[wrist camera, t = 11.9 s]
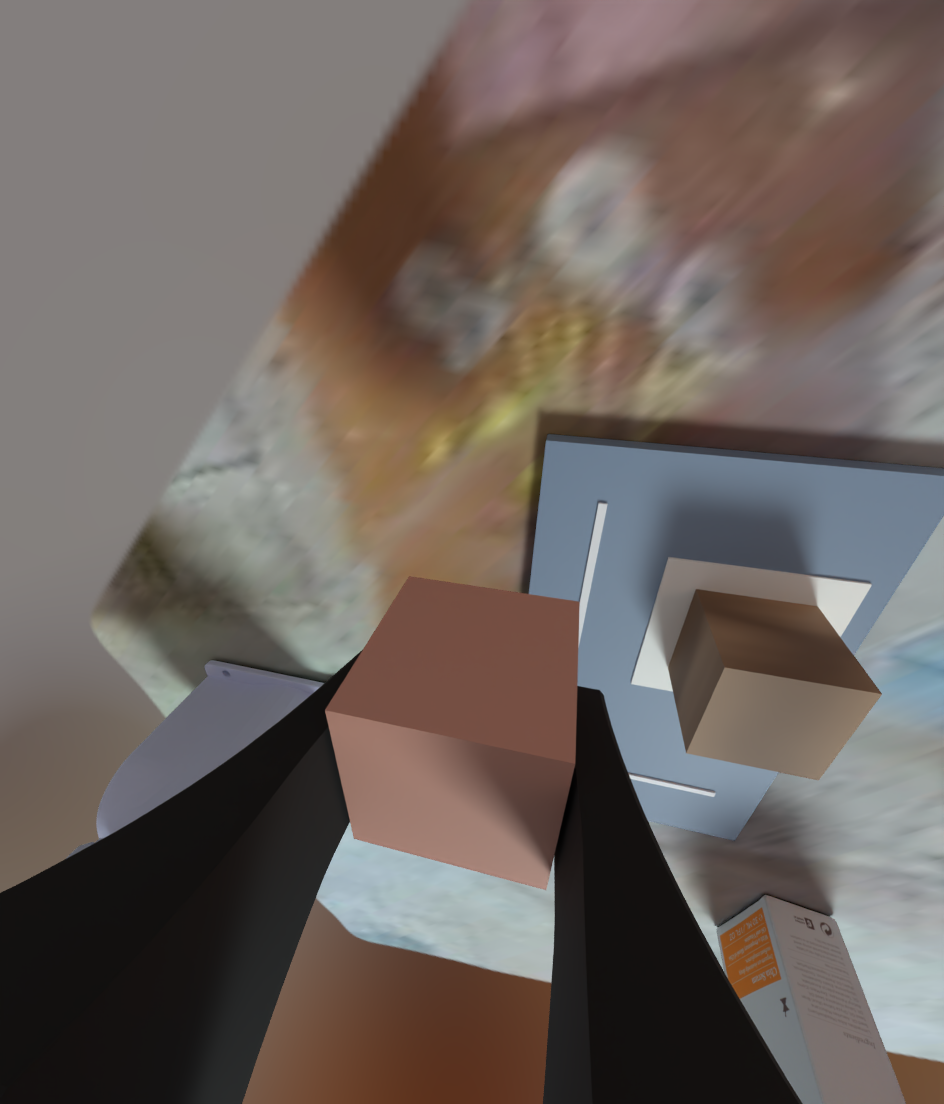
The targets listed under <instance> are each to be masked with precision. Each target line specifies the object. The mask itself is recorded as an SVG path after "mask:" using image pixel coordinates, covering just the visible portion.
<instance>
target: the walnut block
mask: <svg viewBox="0 0 944 1104" xmlns="http://www.w3.org/2000/svg"><path fill="white" fill-rule="evenodd" d="M668 671H669V676H670V680H671V685H672V690H673V694H674V699H675V704H676V708H677V713H678V718H679V722H680V727H681V732H682V736H683V741H684V746H685V750H686V753H687V754H692V755H697V756H702V757H707V758H712V759H717V760H721V761H726V762H731V763H736V764H741V765H746V766H751V767H756V768H760V769H765V770H770V771H775V772H780V773H785V774H790V775H795V776H800V777H804V778H809V779H814V780H819V779H820V778H821V776H822V775H823V774H824V772H825V771H826V770H827V768H828V767H829V766H830V764H831V763H832V762H833V760H834V759H835V757H836V756H837V755H838V753H839V752H840V751H841V749H842V748H843V747H844V745H845V744H846V742H847V741H848V740H849V738H850V737H851V736H852V734H853V733H854V732H855V730H856V729H857V728H858V726H859V725H860V723H861V722H862V721H863V719H864V718H865V717H866V715H867V714H868V713H869V711H870V710H871V709H872V707H873V706H874V704H875V703H876V702H877V700H878V699H879V698H880V696H881V695H882V693H881V692H880V691H879V689H878V688H877V687H876V685H875V684H874V683H873V681H872V680H871V678H870V677H869V676H868V674H867V673H866V672H865V670H864V669H863V667H862V666H861V665H860V663H859V662H858V661H857V659H856V658H855V657H854V655H853V654H852V652H851V651H850V650H849V648H848V647H847V646H846V644H845V643H844V642H843V640H842V639H841V637H840V636H839V635H838V633H837V632H836V631H835V629H834V628H833V627H832V625H831V624H830V622H829V621H828V620H827V618H826V617H825V616H824V614H823V613H822V612H821V610H820V609H819V607H818V606H812V605H805V604H798V603H791V602H784V601H777V600H770V599H763V598H756V597H749V596H742V595H735V594H728V593H721V592H714V591H707V590H700V589H696V590H695V593H694V596H693V599H692V601H691V604H690V607H689V610H688V613H687V615H686V618H685V621H684V624H683V627H682V629H681V632H680V635H679V638H678V641H677V644H676V646H675V649H674V652H673V655H672V658H671V660H670V663H669V666H668Z"/></svg>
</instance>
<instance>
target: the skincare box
mask: <svg viewBox="0 0 944 1104" xmlns="http://www.w3.org/2000/svg"><path fill="white" fill-rule="evenodd" d="M717 936H718V941H719V946H720V951H721V957H722V962H723V968H724V973H725V975H726V976H727V978H728V980H729V982H730V983H731V985H732V987H733V988H734V990H735V992H736V994H737V995H738V997H739V999H740V1000H741V1002H742V1004H743V1005H744V1007H745V1009H746V1010H747V1012H748V1014H749V1015H750V1017H751V1019H752V1020H753V1022H754V1024H755V1026H756V1027H757V1029H758V1031H759V1032H760V1034H761V1036H762V1037H763V1039H764V1041H765V1042H766V1044H767V1046H768V1047H769V1049H770V1051H771V1053H772V1054H773V1056H774V1058H775V1059H776V1061H777V1063H778V1064H779V1066H780V1068H781V1069H782V1071H783V1073H784V1074H785V1076H786V1078H787V1080H788V1081H789V1083H790V1084H791V1086H792V1087H793V1089H794V1091H795V1092H796V1094H797V1095H798V1097H799V1099H800V1100H801V1102H802V1103H803V1104H906V1102H905V1100H904V1097H903V1094H902V1092H901V1089H900V1086H899V1084H898V1081H897V1079H896V1076H895V1073H894V1071H893V1068H892V1066H891V1063H890V1061H889V1058H888V1056H887V1053H886V1050H885V1047H884V1045H883V1042H882V1040H881V1037H880V1035H879V1032H878V1029H877V1027H876V1024H875V1021H874V1019H873V1016H872V1014H871V1011H870V1008H869V1006H868V1003H867V1000H866V998H865V995H864V992H863V990H862V987H861V984H860V982H859V979H858V977H857V974H856V972H855V969H854V966H853V964H852V961H851V959H850V956H849V953H848V951H847V948H846V946H845V943H844V941H843V938H842V935H841V933H840V930H839V927H838V925H837V922H836V921H835V920H834V919H833V918H831V917H829V916H826V915H823V914H821V913H818V912H814V911H811V910H808V909H806V908H803V907H800V906H797V905H794V904H791V903H788V902H786V901H783V900H780V899H777V898H774V897H771V896H768V895H764V896H763V897H762V898H761V899H760V900H759V901H757V902H756V903H754V904H753V905H751V906H750V907H748V908H747V909H746V910H744V911H743V912H741V913H740V914H739V915H737V916H735V917H734V918H732V919H731V920H729V921H728V922H726V923H725V924H723V925H721V926H719V927H718V928H717Z"/></svg>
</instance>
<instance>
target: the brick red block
mask: <svg viewBox="0 0 944 1104" xmlns="http://www.w3.org/2000/svg"><path fill="white" fill-rule="evenodd" d="M579 607H580V602H579V601H572V600H565V599H558V598H552V597H545V596H538V595H531V594H525V593H518V592H511V591H504V590H498V589H491V588H484V587H477V586H471V585H464V584H457V583H450V582H444V581H437V580H430V579H423V578H417V577H410V576H409V577H408V579H407V580H406V582H405V584H404V585H403V587H402V588H401V590H400V592H399V593H398V595H397V596H396V598H395V600H394V601H393V603H392V604H391V606H390V608H389V609H388V611H387V612H386V614H385V616H384V617H383V619H382V620H381V622H380V623H379V625H378V627H377V628H376V630H375V631H374V633H373V635H372V636H371V638H370V639H369V641H368V643H367V644H366V646H365V647H364V649H363V651H362V652H361V654H360V655H359V657H358V658H357V660H356V662H355V663H354V665H353V666H352V668H351V670H350V671H349V673H348V674H347V676H346V678H345V679H344V681H343V682H342V684H341V686H340V687H339V689H338V690H337V692H336V694H335V695H334V697H333V698H332V700H331V701H330V703H329V705H328V706H327V708H326V709H325V713H326V717H327V721H328V726H329V730H330V735H331V739H332V743H333V748H334V752H335V757H336V761H337V766H338V770H339V774H340V779H341V783H342V788H343V792H344V796H345V801H346V805H347V810H348V814H349V818H350V823H351V827H352V832H353V836H354V839H357V840H361V841H365V842H368V843H372V844H376V845H380V846H383V847H387V848H391V849H395V850H398V851H402V852H406V853H410V854H413V855H417V856H421V857H424V858H428V859H432V860H436V861H439V862H443V863H447V864H451V865H454V866H458V867H462V868H466V869H469V870H473V871H477V872H480V873H484V874H488V875H492V876H495V877H499V878H503V879H507V880H510V881H514V882H518V883H522V884H525V885H529V886H533V887H536V888H540V889H544V890H546V888H547V884H548V880H549V875H550V871H551V867H552V862H553V858H554V854H555V849H556V845H557V841H558V836H559V832H560V828H561V823H562V819H563V815H564V810H565V806H566V802H567V797H568V793H569V789H570V784H571V780H572V776H573V771H574V767H575V756H576V718H577V681H578V644H579Z"/></svg>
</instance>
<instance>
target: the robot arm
mask: <svg viewBox="0 0 944 1104" xmlns="http://www.w3.org/2000/svg"><path fill="white" fill-rule="evenodd" d="M362 651H363V650H362ZM362 651H361V652H362ZM361 652H360V653H358V654H357V655H356V656H355V657H354V658H353V659H352V660H350V661H349V662H348V663H347V664H346V665H345V666H344V667H343V668H341V669H340V670H339V671H338V672H337V673H336V674H335V675H333V676H332V677H331V678H330V679H329V680H328V681H327V682H325V683H322V682H317V681H312V680H308V679H303V678H298V677H293V676H288V675H283V674H278V673H273V672H268V671H264V670H259V669H254V668H249V667H244V666H239V665H234V664H229V663H225V662H220V661H215V660H210V661H209V662H208V663H207V664H205V671H206V673H207V677H206V678H205V679H204V680H203V681H202V682H201V683H200V684H199V685H198V686H197V687H196V688H195V689H194V690H193V691H192V692H191V693H190V694H189V695H188V697H187V698H186V699H185V700H184V701H183V702H182V703H181V704H180V705H179V706H178V707H177V708H176V709H175V710H174V711H173V712H172V713H171V714H170V715H169V716H168V717H167V718H166V719H165V720H164V721H163V722H162V723H161V724H160V725H159V726H158V727H157V728H156V729H155V730H154V731H153V732H152V733H151V734H150V735H149V736H148V737H147V738H146V739H145V740H144V741H143V742H142V743H141V744H140V745H139V746H138V747H137V748H136V749H135V750H134V751H133V752H132V753H131V754H130V755H129V756H128V758H127V759H126V760H125V761H124V762H123V763H122V765H121V766H120V767H119V769H118V770H117V772H116V773H115V775H114V776H113V778H112V779H111V781H110V783H109V785H108V787H107V788H106V791H105V793H104V795H103V797H102V800H101V802H100V805H99V808H98V813H97V833H98V836H99V840H97V841H96V842H95V843H94V842H90V843H87V844H84V845H80V846H78V847H77V848H76V849H75V850H74V851H73V852H72V853H71V854H70V855H69V856H68V857H67V858H66V859H65V860H63V861H61V862H59V863H58V864H56V865H54V866H52V867H50V868H48V869H46V870H45V871H43V872H41V873H39V874H37V875H35V876H33V877H31V878H30V879H28V880H26V881H24V882H22V883H20V884H18V885H16V886H14V887H12V888H10V889H7V890H6V891H3V892H1V893H0V1104H242V1102H243V1099H244V1096H245V1093H246V1090H247V1087H248V1084H249V1081H250V1078H251V1074H252V1072H253V1069H254V1066H255V1063H256V1060H257V1056H258V1054H259V1051H260V1048H261V1045H262V1042H263V1040H264V1037H265V1034H266V1031H267V1028H268V1025H269V1023H270V1020H271V1017H272V1014H273V1011H274V1008H275V1005H276V1003H277V1000H278V997H279V994H280V991H281V988H282V986H283V983H284V980H285V978H286V975H287V972H288V970H289V967H290V964H291V961H292V958H293V956H294V953H295V950H296V948H297V945H298V942H299V940H300V937H301V934H302V932H303V929H304V926H305V924H306V921H307V918H308V916H309V914H310V911H311V908H312V906H313V903H314V901H315V898H316V895H317V893H318V890H319V888H320V885H321V883H322V880H323V878H324V875H325V873H326V871H327V869H328V866H329V864H330V862H331V860H332V857H333V855H334V853H335V851H336V849H337V847H338V845H339V843H340V841H341V839H342V836H343V834H344V832H345V830H346V828H347V826H348V824H349V822H350V818H349V814H348V810H347V805H346V801H345V796H344V792H343V788H342V783H341V779H340V774H339V770H338V766H337V761H336V757H335V752H334V748H333V743H332V739H331V735H330V730H329V726H328V721H327V717H326V713H325V709H326V708H327V706H328V705H329V703H330V701H331V700H332V698H333V697H334V695H335V694H336V692H337V690H338V689H339V687H340V686H341V684H342V682H343V681H344V679H345V678H346V676H347V674H348V673H349V671H350V670H351V668H352V666H353V665H354V663H355V662H356V660H357V658H358V657H359V655H360V654H361ZM554 870H555V930H554V954H553V969H552V985H551V999H550V1015H549V1028H548V1042H547V1057H546V1070H545V1085H544V1097H543V1104H803V1103H802V1102H801V1100H800V1099H799V1097H798V1095H797V1094H796V1092H795V1091H794V1089H793V1087H792V1086H791V1084H790V1083H789V1081H788V1080H787V1078H786V1076H785V1074H784V1073H783V1071H782V1069H781V1068H780V1066H779V1064H778V1063H777V1061H776V1059H775V1058H774V1056H773V1054H772V1053H771V1051H770V1049H769V1047H768V1046H767V1044H766V1042H765V1041H764V1039H763V1037H762V1036H761V1034H760V1032H759V1031H758V1029H757V1027H756V1026H755V1024H754V1022H753V1020H752V1019H751V1017H750V1015H749V1014H748V1012H747V1010H746V1009H745V1007H744V1005H743V1004H742V1002H741V1000H740V999H739V997H738V995H737V994H736V992H735V990H734V988H733V987H732V985H731V983H730V982H729V980H728V978H727V976H726V975H725V973H724V971H723V969H722V967H721V966H720V964H719V962H718V960H717V958H716V956H715V955H714V953H713V951H712V949H711V947H710V945H709V944H708V942H707V940H706V938H705V936H704V935H703V933H702V931H701V929H700V927H699V925H698V923H697V921H696V919H695V918H694V916H693V914H692V912H691V910H690V908H689V906H688V904H687V902H686V900H685V898H684V896H683V894H682V892H681V890H680V888H679V886H678V884H677V882H676V880H675V878H674V876H673V874H672V872H671V870H670V868H669V866H668V864H667V862H666V860H665V858H664V856H663V853H662V851H661V849H660V847H659V845H658V842H657V840H656V838H655V836H654V834H653V831H652V829H651V827H650V825H649V822H648V820H647V818H646V815H645V813H644V811H643V809H642V806H641V804H640V801H639V799H638V796H637V794H636V791H635V789H634V786H633V784H632V781H631V779H630V776H629V774H628V771H627V769H626V766H625V763H624V760H623V758H622V755H621V752H620V749H619V746H618V743H617V740H616V737H615V734H614V731H613V728H612V725H611V721H610V718H609V714H608V711H607V707H606V703H605V698H604V695H603V693H602V692H601V691H600V690H597V689H592V688H586V687H581V686H577V718H576V756H575V767H574V771H573V776H572V780H571V784H570V789H569V793H568V797H567V802H566V806H565V810H564V815H563V819H562V823H561V828H560V832H559V836H558V841H557V845H556V849H555V854H554Z"/></svg>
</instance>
